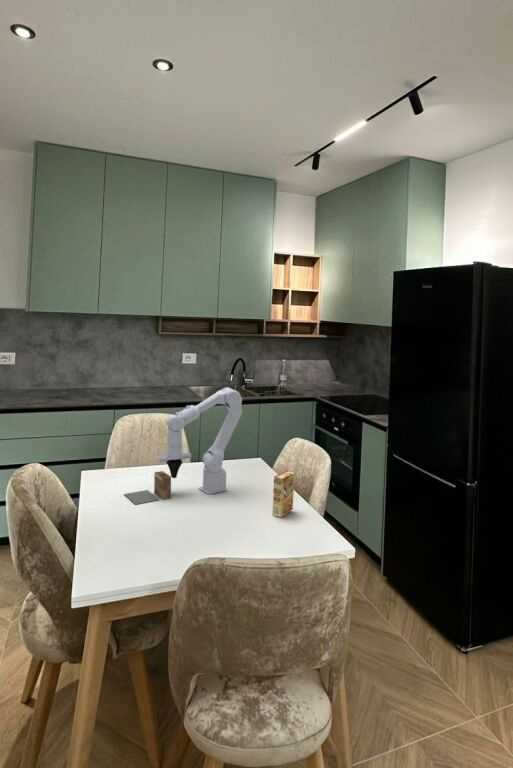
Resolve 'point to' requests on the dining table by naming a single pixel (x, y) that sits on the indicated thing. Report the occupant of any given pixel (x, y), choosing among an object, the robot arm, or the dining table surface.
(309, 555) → the dining table surface
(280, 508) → the candy box
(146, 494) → the rubber mat
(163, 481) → the walnut slab
